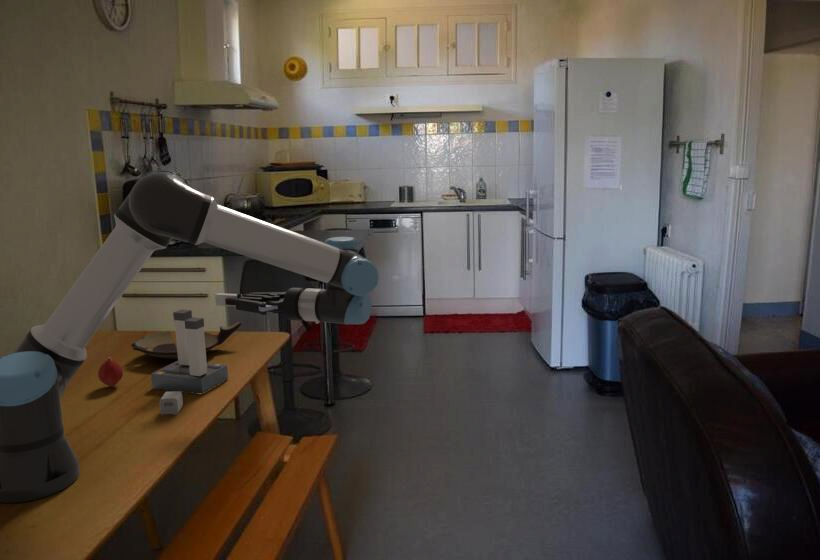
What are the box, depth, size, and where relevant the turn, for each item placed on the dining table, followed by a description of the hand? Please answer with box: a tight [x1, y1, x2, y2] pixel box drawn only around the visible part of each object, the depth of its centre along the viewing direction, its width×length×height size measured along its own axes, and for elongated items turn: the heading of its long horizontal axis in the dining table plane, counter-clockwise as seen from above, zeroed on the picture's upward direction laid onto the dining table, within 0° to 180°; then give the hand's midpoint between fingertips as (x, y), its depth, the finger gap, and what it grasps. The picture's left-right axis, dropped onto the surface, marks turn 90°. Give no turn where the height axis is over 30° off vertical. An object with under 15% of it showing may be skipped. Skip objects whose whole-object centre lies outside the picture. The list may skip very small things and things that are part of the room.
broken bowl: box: [130, 321, 242, 360], centre depth 196 cm, size 22×30×8 cm
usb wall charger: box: [159, 391, 184, 416], centre depth 157 cm, size 4×7×4 cm, turn 6°
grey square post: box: [185, 316, 208, 376], centre depth 167 cm, size 3×3×14 cm
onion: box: [97, 356, 124, 388], centre depth 171 cm, size 6×6×8 cm
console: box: [150, 360, 229, 395], centre depth 173 cm, size 11×15×4 cm
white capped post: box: [172, 309, 193, 365], centre depth 175 cm, size 3×3×14 cm
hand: (217, 299), depth 162 cm, fingers closed
